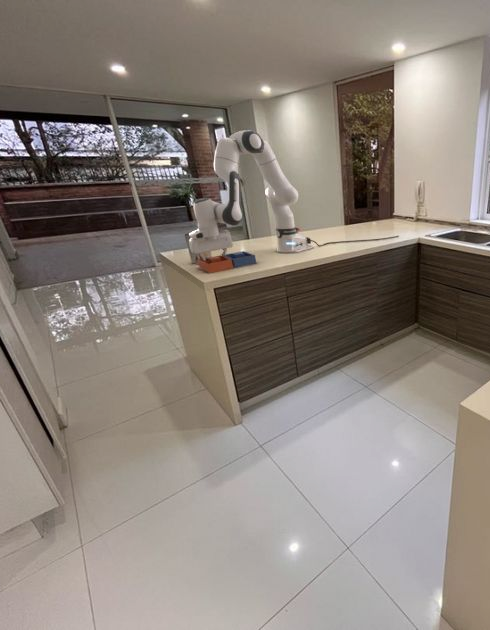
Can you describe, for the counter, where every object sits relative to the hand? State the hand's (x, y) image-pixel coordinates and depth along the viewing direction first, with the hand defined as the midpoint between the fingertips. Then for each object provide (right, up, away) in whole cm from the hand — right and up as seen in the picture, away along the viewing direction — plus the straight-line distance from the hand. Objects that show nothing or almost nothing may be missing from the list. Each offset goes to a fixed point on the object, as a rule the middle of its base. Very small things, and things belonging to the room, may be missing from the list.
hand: (215, 258), depth 176 cm
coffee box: (-14, +1, +14) cm, 20 cm away
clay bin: (0, -5, +2) cm, 5 cm away
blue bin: (+8, -1, +11) cm, 14 cm away
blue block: (+8, 0, +10) cm, 13 cm away
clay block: (0, -4, +2) cm, 4 cm away
